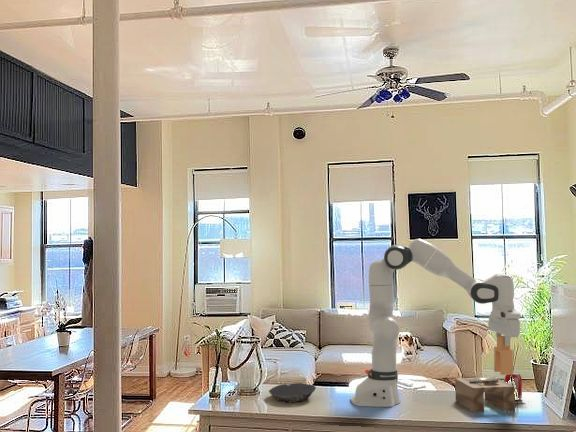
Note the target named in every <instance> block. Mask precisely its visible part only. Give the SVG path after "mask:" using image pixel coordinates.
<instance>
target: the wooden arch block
mask: <svg viewBox="0 0 576 432" xmlns="http://www.w3.org/2000/svg"><path fill="white" fill-rule="evenodd" d="M454 383H455V391H454V392H455V401H456V402H458V403H459V404H461V405H462V406H463V407H465V408H467V409H468V410H469V409H470V411H471V412H472V413H473V412H474V413H476V412H477V413H478V412H479V413H481V412H485V401H487V402H488V403H491V404H492V405H493V406H495V407H497V408H499V409H500V410H502V411H516V408H515V407H516V402H515V394H514V386H512V385H510V384H508V383H506V382H505V380H504V381H503V380H501V379H500V378H498V377H495V376H487V377H486V376H484V377H483V376H482V377H460V378H459V377H458V378H457V377H456V378H454ZM479 384H483V385H479Z"/></svg>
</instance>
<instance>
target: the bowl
mask: <svg viewBox="0 0 576 432" xmlns="http://www.w3.org/2000/svg"><path fill="white" fill-rule="evenodd" d="M316 389H317V386H315V385H314V384H307V383H302V382H295V383H290V384H286V383H285V384H279V385H278V384H277V385H276V386H274V387H272V388H270V389H269V390H268V393H269V394H270V395H271V396H272V397H273V398H275V399H276V400H278V402H284V403H286V404H287V403H290V402H293V403H301V402H302V401H305V400H307V401H308V399H309V397H311V396H312V394H313V393H314V392H315V391H316Z"/></svg>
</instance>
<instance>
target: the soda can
mask: <svg viewBox="0 0 576 432" xmlns="http://www.w3.org/2000/svg"><path fill="white" fill-rule="evenodd" d="M510 376H511V375H505V376H504V382H507V383H508V381H509V380H510ZM512 378H513V379H514V380H513V381H514V382H515V385H516V389H517V392H518V398H519V401H520V400H522V399H523V383H522V375H521V373H520V372H518V371H513V375H512Z"/></svg>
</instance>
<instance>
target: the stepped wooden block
mask: <svg viewBox="0 0 576 432" xmlns="http://www.w3.org/2000/svg"><path fill="white" fill-rule="evenodd" d="M504 341H505V335H501V336H497V337H496V346H493V360H494V361H493V362H494V363H493V372H496V373H500V375H501V376H503V375H505V376H506V375H513V372H514V364H513V363H514V350H513V349H512V348H511V341H510V342H509V346H505V345H504Z"/></svg>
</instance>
